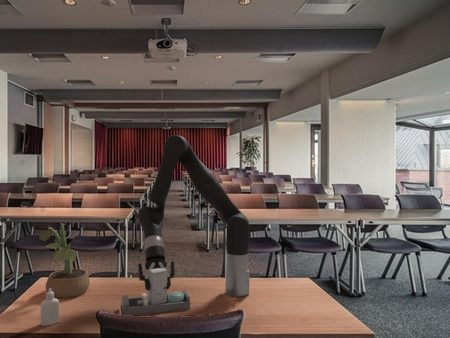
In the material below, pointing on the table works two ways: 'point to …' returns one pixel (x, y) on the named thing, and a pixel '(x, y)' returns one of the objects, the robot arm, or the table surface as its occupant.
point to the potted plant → (65, 269)
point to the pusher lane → (133, 309)
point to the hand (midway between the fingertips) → (158, 288)
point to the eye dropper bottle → (49, 309)
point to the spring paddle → (143, 300)
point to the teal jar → (175, 297)
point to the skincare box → (157, 286)
